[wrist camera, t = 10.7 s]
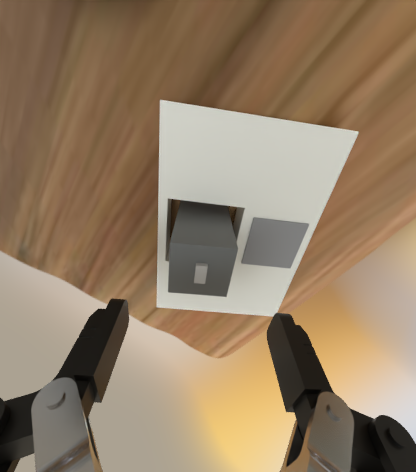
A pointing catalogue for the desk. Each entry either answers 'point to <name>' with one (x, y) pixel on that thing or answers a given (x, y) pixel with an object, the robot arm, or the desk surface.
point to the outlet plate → (247, 195)
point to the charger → (202, 250)
